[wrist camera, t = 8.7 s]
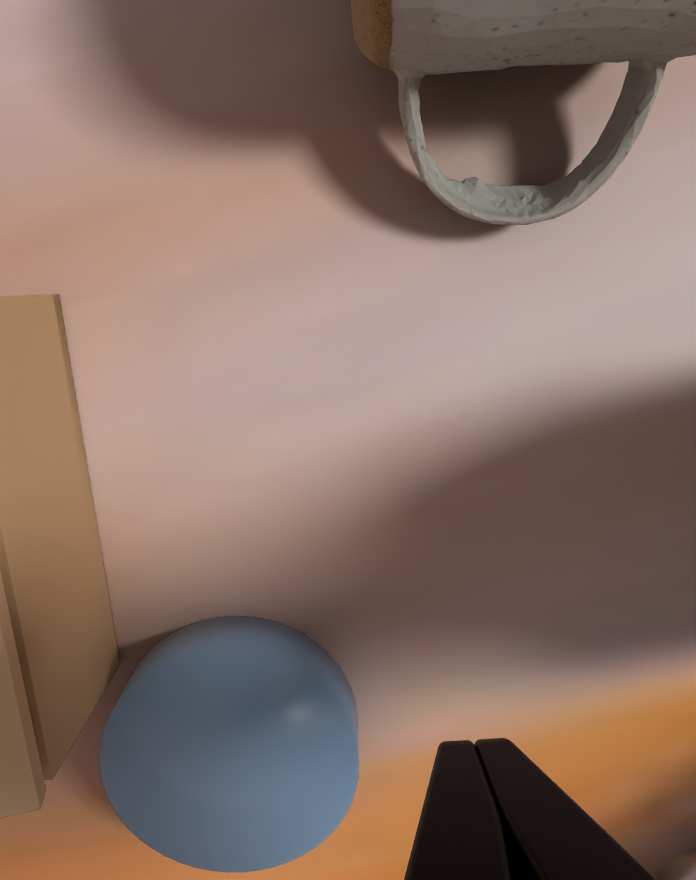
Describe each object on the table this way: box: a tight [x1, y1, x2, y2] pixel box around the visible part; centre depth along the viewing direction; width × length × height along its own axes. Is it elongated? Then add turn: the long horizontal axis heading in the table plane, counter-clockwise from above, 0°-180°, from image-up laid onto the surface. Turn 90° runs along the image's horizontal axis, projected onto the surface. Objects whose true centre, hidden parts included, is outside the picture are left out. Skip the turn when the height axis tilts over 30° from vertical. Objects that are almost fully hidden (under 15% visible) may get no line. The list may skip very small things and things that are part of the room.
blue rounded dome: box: [99, 616, 359, 872], centre depth 21 cm, size 8×8×2 cm
